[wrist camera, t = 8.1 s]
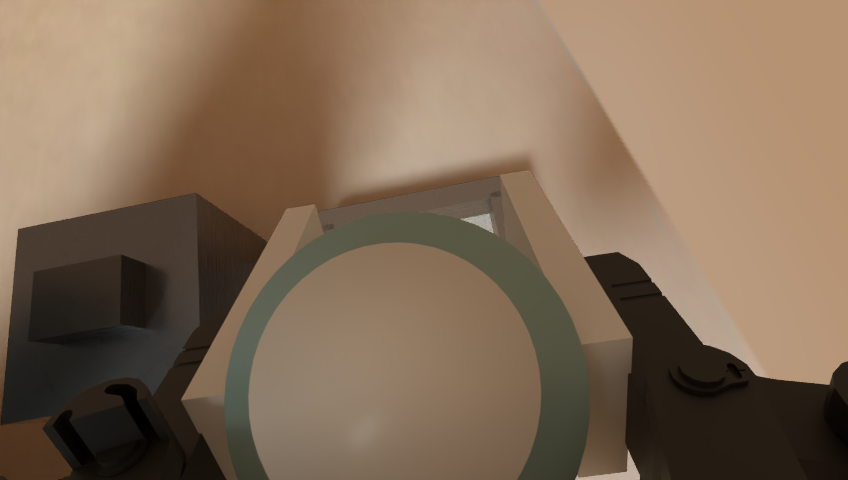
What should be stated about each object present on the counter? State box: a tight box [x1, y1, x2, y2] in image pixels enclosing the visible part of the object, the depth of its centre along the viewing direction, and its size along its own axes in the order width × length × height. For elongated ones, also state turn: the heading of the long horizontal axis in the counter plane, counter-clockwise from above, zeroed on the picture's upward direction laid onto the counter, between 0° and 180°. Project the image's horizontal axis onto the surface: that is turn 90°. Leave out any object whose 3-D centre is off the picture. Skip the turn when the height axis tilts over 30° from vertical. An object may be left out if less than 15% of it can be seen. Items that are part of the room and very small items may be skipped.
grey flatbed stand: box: [1, 176, 506, 425], centre depth 25 cm, size 10×24×10 cm, turn 99°
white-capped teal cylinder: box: [224, 212, 590, 480], centre depth 10 cm, size 5×5×10 cm
